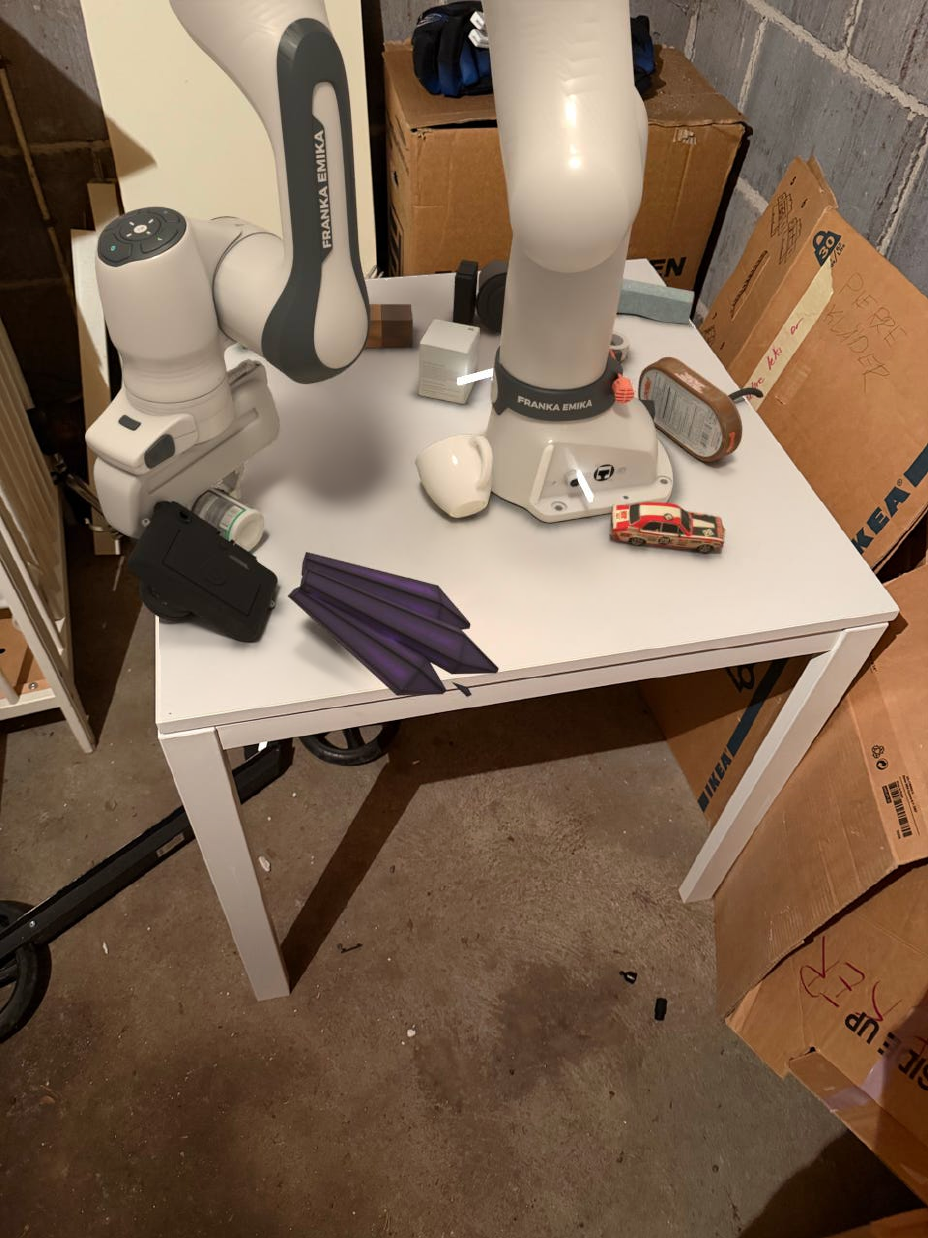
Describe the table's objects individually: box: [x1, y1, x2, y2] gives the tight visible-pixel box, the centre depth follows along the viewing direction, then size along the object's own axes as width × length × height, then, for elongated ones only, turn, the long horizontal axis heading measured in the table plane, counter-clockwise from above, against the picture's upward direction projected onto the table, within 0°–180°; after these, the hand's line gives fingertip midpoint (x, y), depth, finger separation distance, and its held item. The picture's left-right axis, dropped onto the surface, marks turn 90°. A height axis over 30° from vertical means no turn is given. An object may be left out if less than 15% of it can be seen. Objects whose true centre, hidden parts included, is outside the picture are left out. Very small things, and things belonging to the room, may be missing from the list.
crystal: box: [287, 551, 500, 698], centre depth 80 cm, size 7×12×20 cm
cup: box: [414, 433, 493, 519], centre depth 93 cm, size 8×10×7 cm
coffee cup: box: [475, 259, 509, 333], centre depth 120 cm, size 8×8×10 cm
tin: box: [637, 356, 743, 462], centre depth 103 cm, size 15×3×8 cm, turn 34°
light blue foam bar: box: [616, 278, 696, 325], centre depth 126 cm, size 23×7×3 cm
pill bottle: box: [185, 486, 265, 552], centre depth 89 cm, size 5×5×8 cm
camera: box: [126, 501, 279, 642], centre depth 82 cm, size 14×7×8 cm
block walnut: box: [380, 303, 414, 349], centre depth 116 cm, size 4×4×4 cm
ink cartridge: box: [452, 259, 479, 326], centre depth 118 cm, size 5×2×8 cm, turn 168°
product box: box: [418, 318, 481, 405], centre depth 108 cm, size 6×6×7 cm
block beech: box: [364, 303, 382, 349], centre depth 116 cm, size 4×4×4 cm
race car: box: [610, 502, 726, 555], centre depth 93 cm, size 5×12×5 cm, turn 79°
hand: (209, 515), depth 90 cm, fingers closed on pill bottle, 5 cm apart
